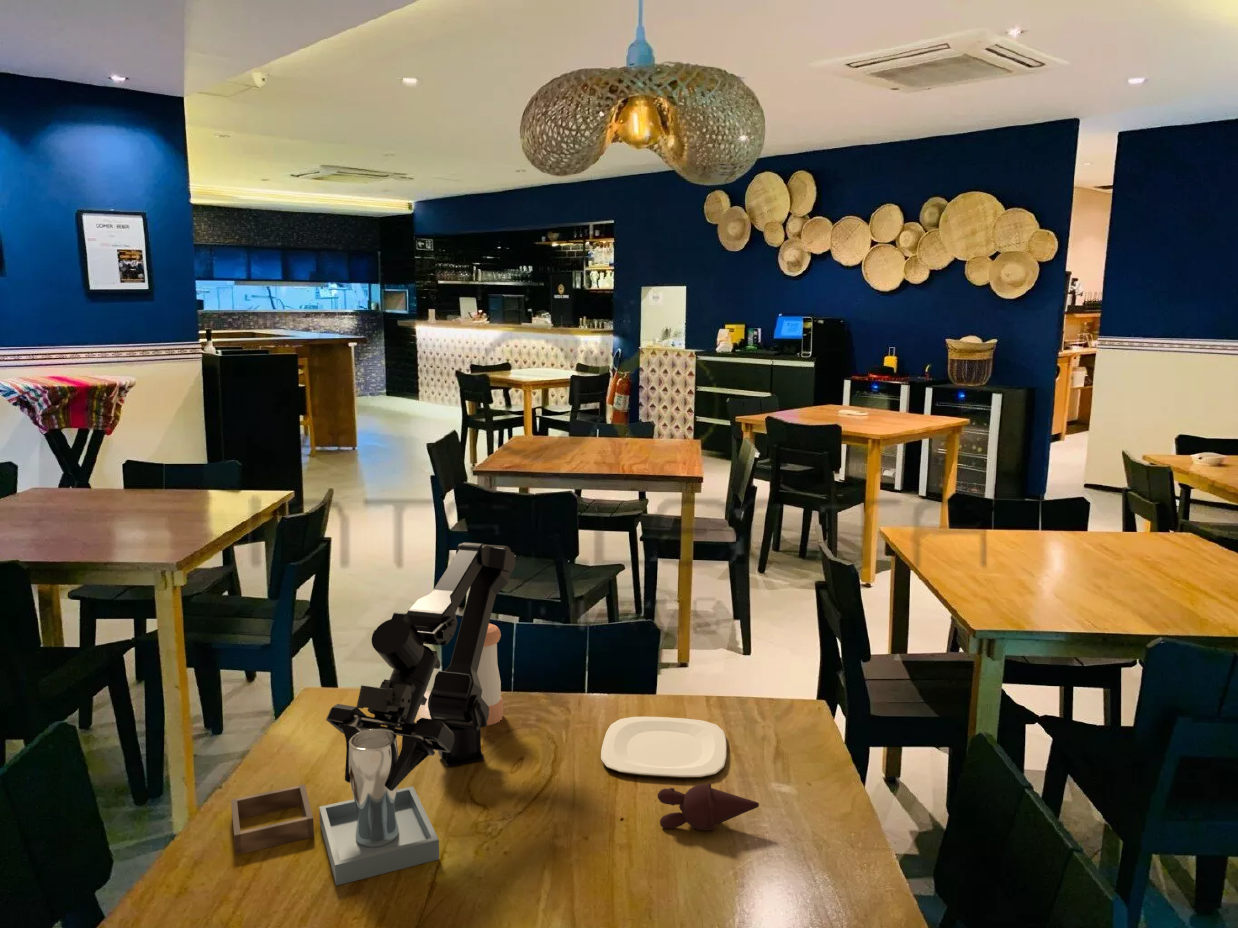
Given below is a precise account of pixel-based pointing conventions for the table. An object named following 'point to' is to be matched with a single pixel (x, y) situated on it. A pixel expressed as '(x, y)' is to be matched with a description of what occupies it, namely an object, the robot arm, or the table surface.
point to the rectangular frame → (273, 832)
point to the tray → (363, 862)
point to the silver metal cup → (373, 785)
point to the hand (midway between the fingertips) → (368, 785)
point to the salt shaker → (491, 675)
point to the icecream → (702, 807)
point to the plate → (664, 747)
